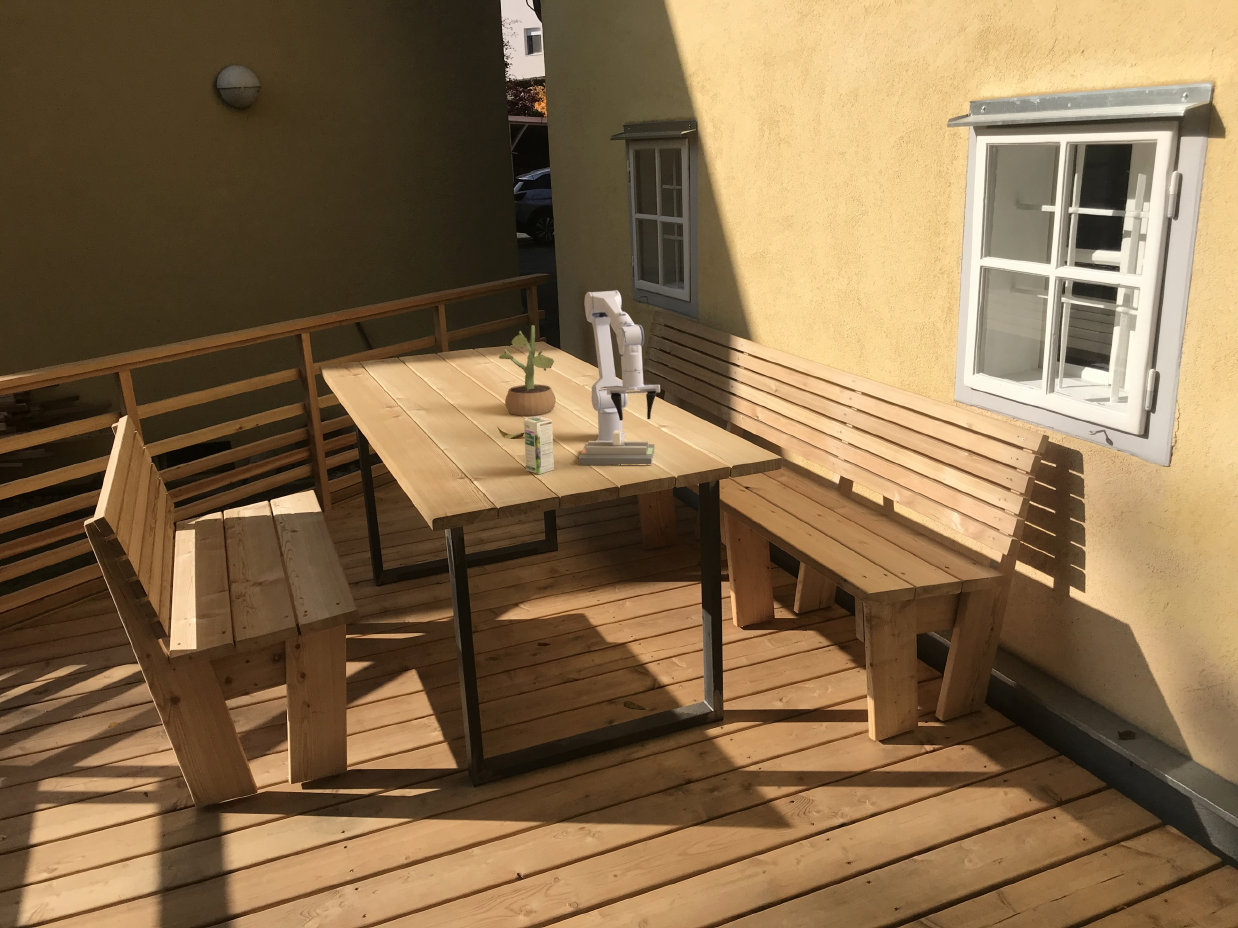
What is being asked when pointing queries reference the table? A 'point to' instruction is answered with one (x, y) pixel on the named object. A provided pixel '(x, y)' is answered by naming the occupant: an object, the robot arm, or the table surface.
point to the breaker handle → (617, 439)
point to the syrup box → (538, 444)
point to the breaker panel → (616, 453)
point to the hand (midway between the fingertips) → (635, 419)
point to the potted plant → (529, 382)
